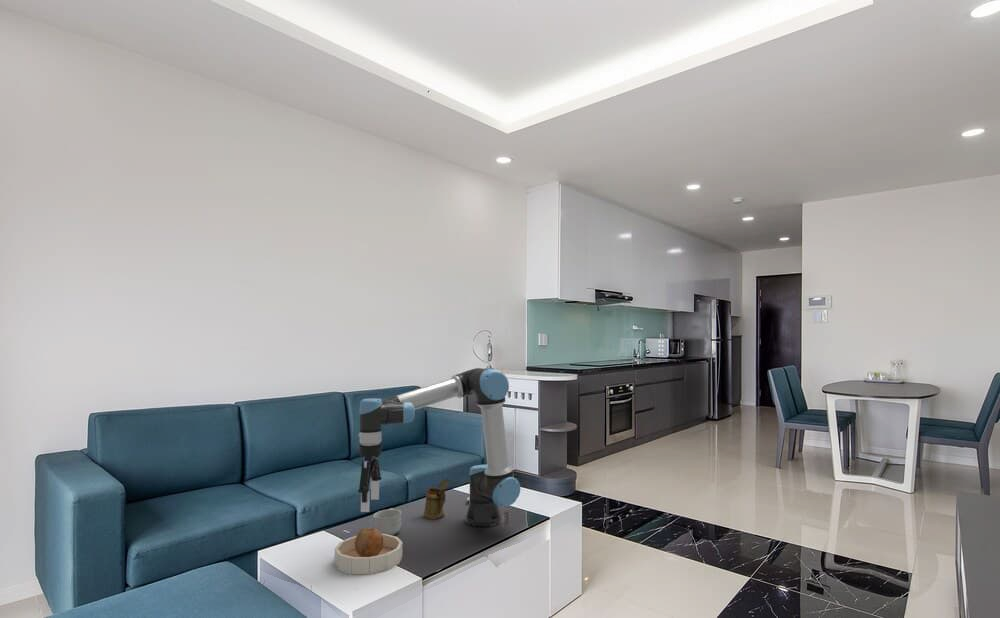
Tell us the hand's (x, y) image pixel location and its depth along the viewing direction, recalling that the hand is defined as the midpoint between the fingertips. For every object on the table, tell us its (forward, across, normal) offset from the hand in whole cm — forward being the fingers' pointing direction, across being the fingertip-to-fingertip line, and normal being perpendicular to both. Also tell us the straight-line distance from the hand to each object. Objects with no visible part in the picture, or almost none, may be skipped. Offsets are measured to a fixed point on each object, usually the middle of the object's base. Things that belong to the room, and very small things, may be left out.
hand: (370, 505), depth 184 cm
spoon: (+20, -77, +39) cm, 89 cm away
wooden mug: (+19, -45, +18) cm, 52 cm away
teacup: (+19, -27, +1) cm, 33 cm away
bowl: (+19, 0, 0) cm, 19 cm away
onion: (+18, 0, 0) cm, 18 cm away
